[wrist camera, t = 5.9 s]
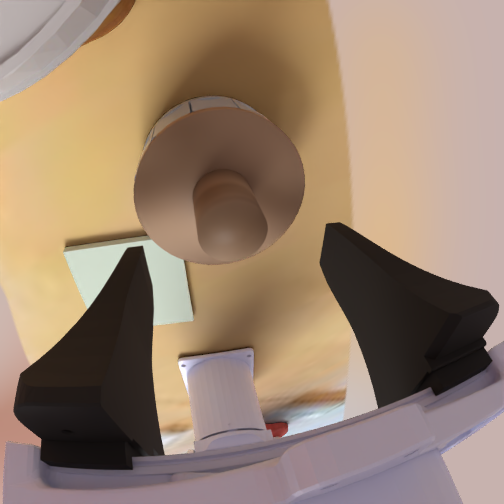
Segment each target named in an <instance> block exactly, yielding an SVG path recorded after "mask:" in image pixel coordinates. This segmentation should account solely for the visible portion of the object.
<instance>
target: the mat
mask: <svg viewBox="0 0 504 504" xmlns="http://www.w3.org/2000/svg"><path fill="white" fill-rule="evenodd" d="M135 246H143V248H144V252H145V257H146V261H147V265H148V269H149V273H150V277H151V281H152V285H153V298H154V319H153V326H155V325H163V324H171V323H179V322H187V321H194V317H193V311H192V305H191V300H190V294H189V288H188V282H187V276H186V270H185V263H184V260H182V259H180V258H177V257H175V256H173V255H171V254H169V253H168V252H166V251H165V250H163V249H162V248H161V247H159V246H158V245H157V244H156V243H155V242H154V241H153V240H152V239H151V238H150V237H149V236H140V237H133V238H126V239H118V240H111V241H104V242H97V243H91V244H84V245H77V246H70V247H65V249H64V251H63V253H64V256H65V258H66V261H67V263H68V266H69V268H70V271H71V273H72V276H73V278H74V280H75V283H76V285H77V287H78V289H79V292H80V294H81V296H82V298H83V301H84V303H85V305H86V307H87V309H88V308H89V307H90V305H91V304H92V303H93V301H94V300H95V298H96V297H97V295H98V294H99V293H100V291H101V290H102V288H103V287H104V285H105V284H106V282H107V280H108V279H109V277H110V275H111V274H112V272H113V271H114V269H115V267H116V265H117V264H118V262H119V260H120V259H121V257H122V255H123V253H124V252H125V250H126V249H127V248H128V247H135Z"/></svg>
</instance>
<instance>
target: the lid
mask: <svg viewBox="0 0 504 504" xmlns="http://www.w3.org/2000/svg"><path fill="white" fill-rule="evenodd" d="M304 188H305V175H304V169H303V164H302V161H301V158H300V155H299V153H298V151H297V149H296V147H295V146H294V144H293V143H292V142H291V140H290V139H289V138H288V137H287V136H286V134H285V133H284V132H283V131H282V130H281V129H279V128H278V127H277V126H276V125H275V124H273V123H272V122H271V121H269V120H268V119H266V118H264V117H262V116H261V115H259V114H256V113H254V112H251V111H248V110H244V109H240V108H234V107H211V108H206V109H200V110H197V111H194V112H191V113H188V114H186V115H184V116H182V117H180V118H178V119H176V120H175V121H173V122H172V123H170V124H169V125H167V126H166V127H165V128H164V129H163V130H162V131H160V132H159V133H158V134H157V135H156V137H155V138H154V139H153V140H152V141H151V142H150V144H149V146H148V147H147V149H146V150H145V152H144V154H143V156H142V158H141V160H140V163H139V166H138V170H137V173H136V177H135V183H134V203H135V209H136V212H137V215H138V218H139V221H140V223H141V225H142V227H143V229H144V230H145V231H146V233H147V234H148V236H149V237H150V238H151V239H152V240H153V241H154V242H155V243H156V244H157V245H158V246H159V247H161V248H162V249H163V250H165V251H166V252H168V253H169V254H171V255H173V256H175V257H177V258H180V259H182V260H185V261H188V262H193V263H198V264H207V265H219V264H228V263H233V262H237V261H241V260H244V259H247V258H249V257H251V256H254V255H256V254H258V253H260V252H261V251H263V250H265V249H266V248H268V247H269V246H271V245H272V244H273V243H274V242H276V241H277V240H278V239H279V238H280V237H281V236H282V235H283V234H284V233H285V232H286V231H287V229H288V228H289V227H290V225H291V224H292V222H293V221H294V219H295V217H296V215H297V214H298V211H299V209H300V206H301V203H302V199H303V196H304Z"/></svg>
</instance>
